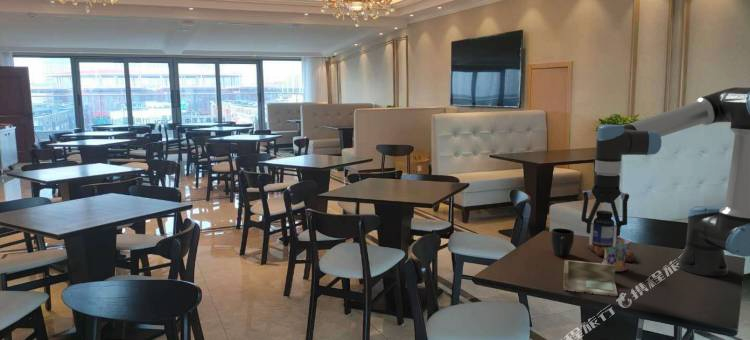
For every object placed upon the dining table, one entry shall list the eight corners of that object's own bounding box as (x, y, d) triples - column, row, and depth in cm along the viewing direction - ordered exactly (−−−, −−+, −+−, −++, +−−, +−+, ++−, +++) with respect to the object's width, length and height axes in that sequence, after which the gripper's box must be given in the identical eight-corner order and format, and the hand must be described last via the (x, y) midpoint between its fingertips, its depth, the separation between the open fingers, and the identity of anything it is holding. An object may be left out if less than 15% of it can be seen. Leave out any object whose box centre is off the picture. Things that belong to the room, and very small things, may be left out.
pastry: (585, 257, 206) (586, 237, 205) (587, 247, 220) (588, 228, 218) (633, 263, 199) (635, 243, 198) (632, 252, 213) (634, 232, 212)
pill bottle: (589, 242, 176) (591, 209, 174) (608, 242, 175) (610, 209, 174) (595, 247, 169) (598, 213, 168) (615, 248, 169) (618, 214, 168)
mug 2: (629, 274, 187) (631, 245, 185) (600, 271, 190) (602, 242, 188) (626, 264, 198) (628, 236, 196) (599, 261, 201) (600, 234, 199)
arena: (613, 281, 180) (615, 264, 179) (617, 296, 167) (618, 278, 166) (563, 275, 185) (564, 259, 184) (563, 290, 172) (564, 272, 171)
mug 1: (549, 259, 203) (550, 235, 202) (550, 250, 214) (552, 227, 213) (572, 261, 200) (573, 237, 199) (572, 252, 211) (574, 229, 210)
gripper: (639, 173, 169) (633, 244, 173) (574, 170, 176) (570, 238, 179) (642, 177, 162) (636, 250, 166) (575, 173, 169) (570, 244, 172)
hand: (602, 244), depth 173 cm, fingers closed on pill bottle, 6 cm apart
